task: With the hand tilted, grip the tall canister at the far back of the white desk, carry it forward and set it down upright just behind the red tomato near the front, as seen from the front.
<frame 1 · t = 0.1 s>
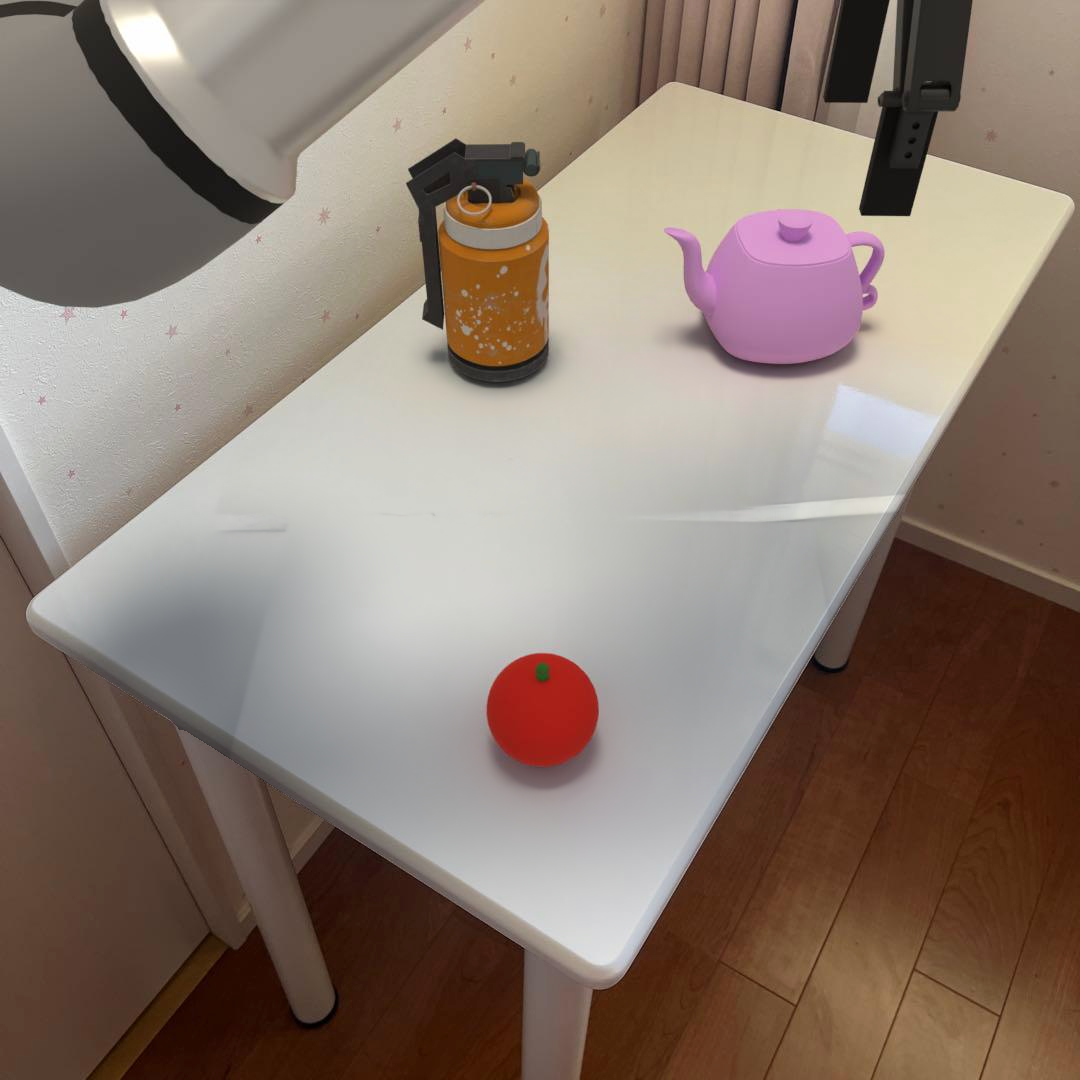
hand: (863, 153, 66), 28 cm above the table, tool pointing down, fingers open, 13 cm apart
teapot: (762, 334, 101), on the table
canister: (486, 357, 99), on the table
tomato: (542, 740, 71), on the table
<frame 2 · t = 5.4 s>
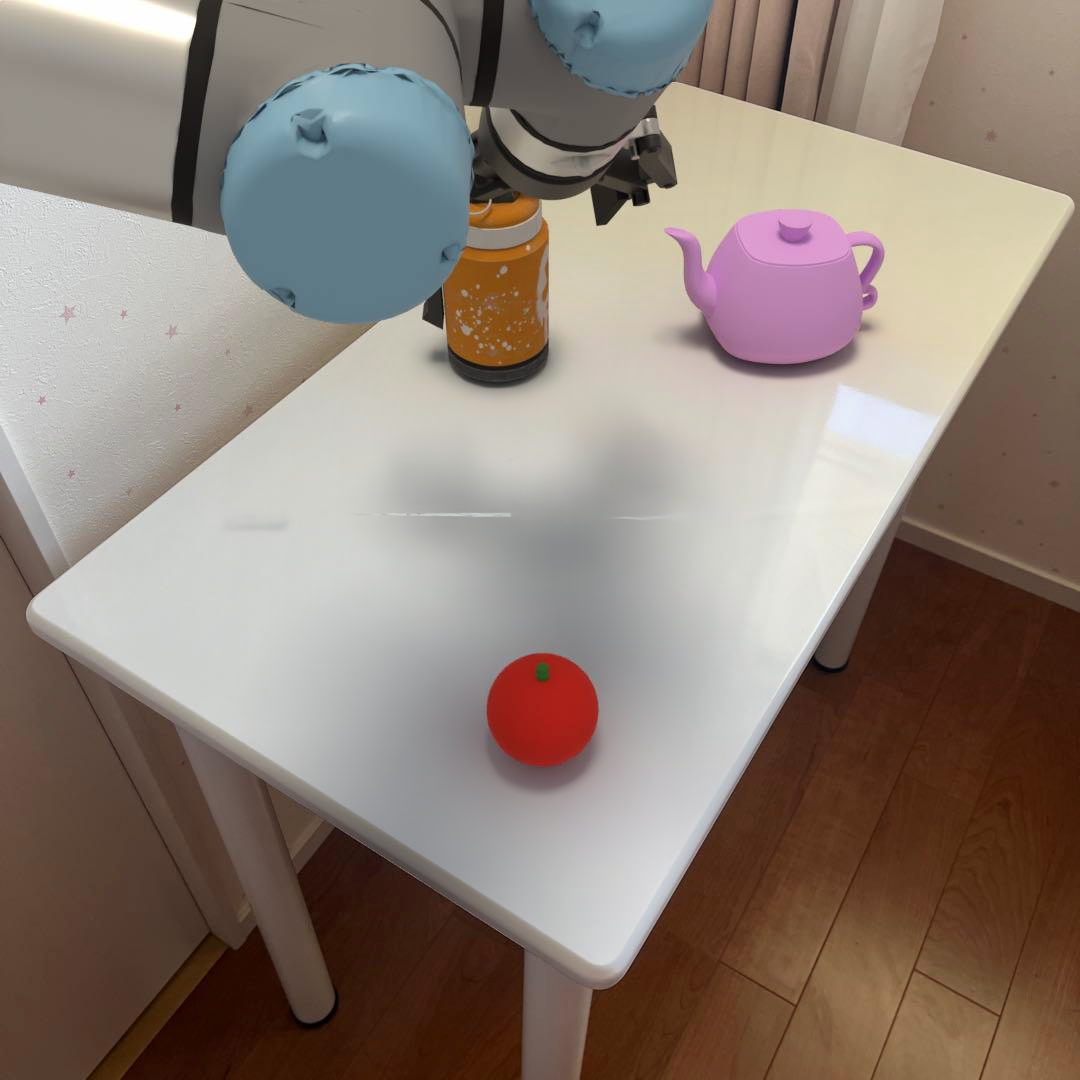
hand: (504, 219, 77), 20 cm above the table, tool tilted 45°, fingers open, 13 cm apart
nothing on the table moved.
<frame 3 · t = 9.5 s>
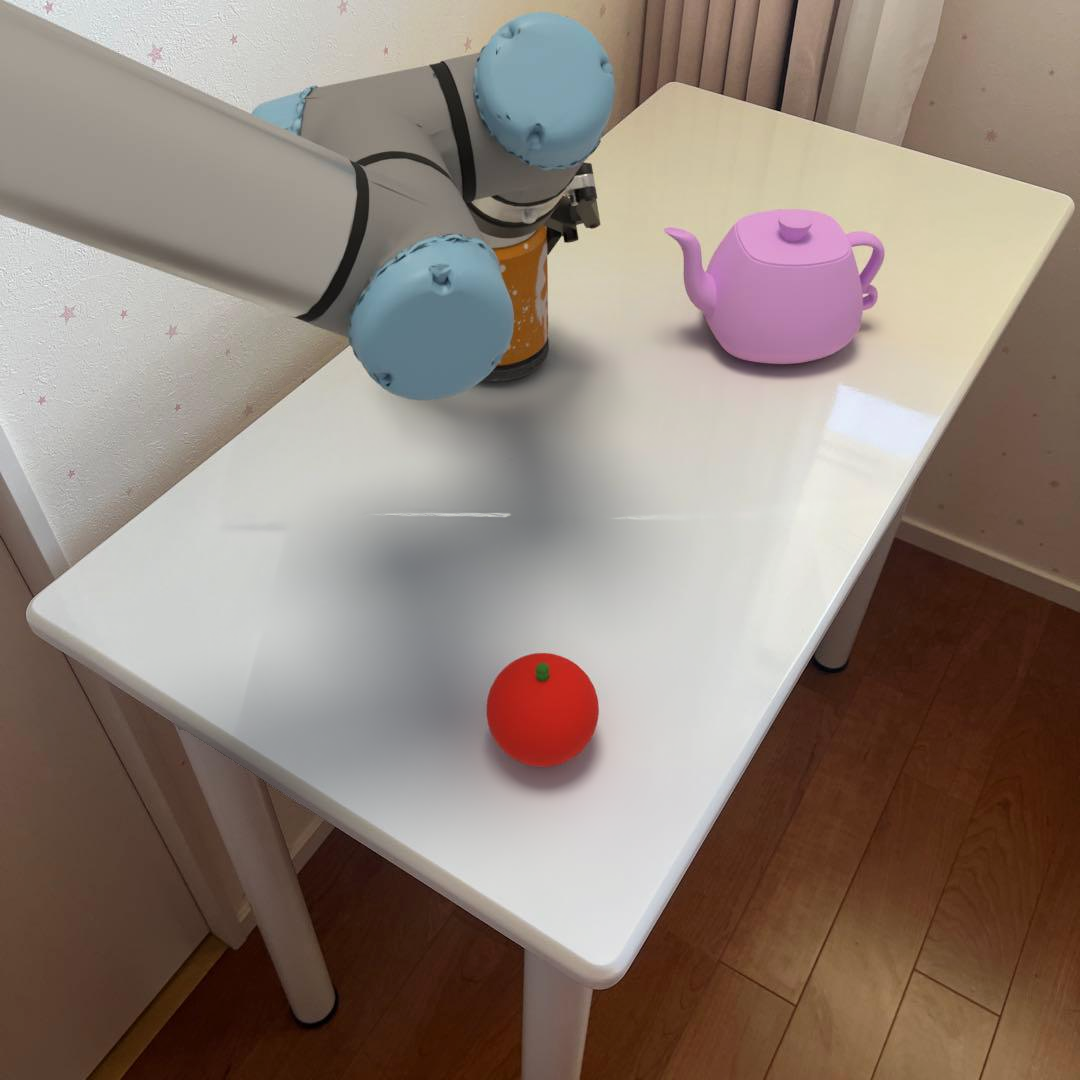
hand: (477, 248, 94), 9 cm above the table, tool tilted 45°, fingers closed on canister, 10 cm apart
canister: (487, 357, 99), on the table, touching gripper
everything else where it was.
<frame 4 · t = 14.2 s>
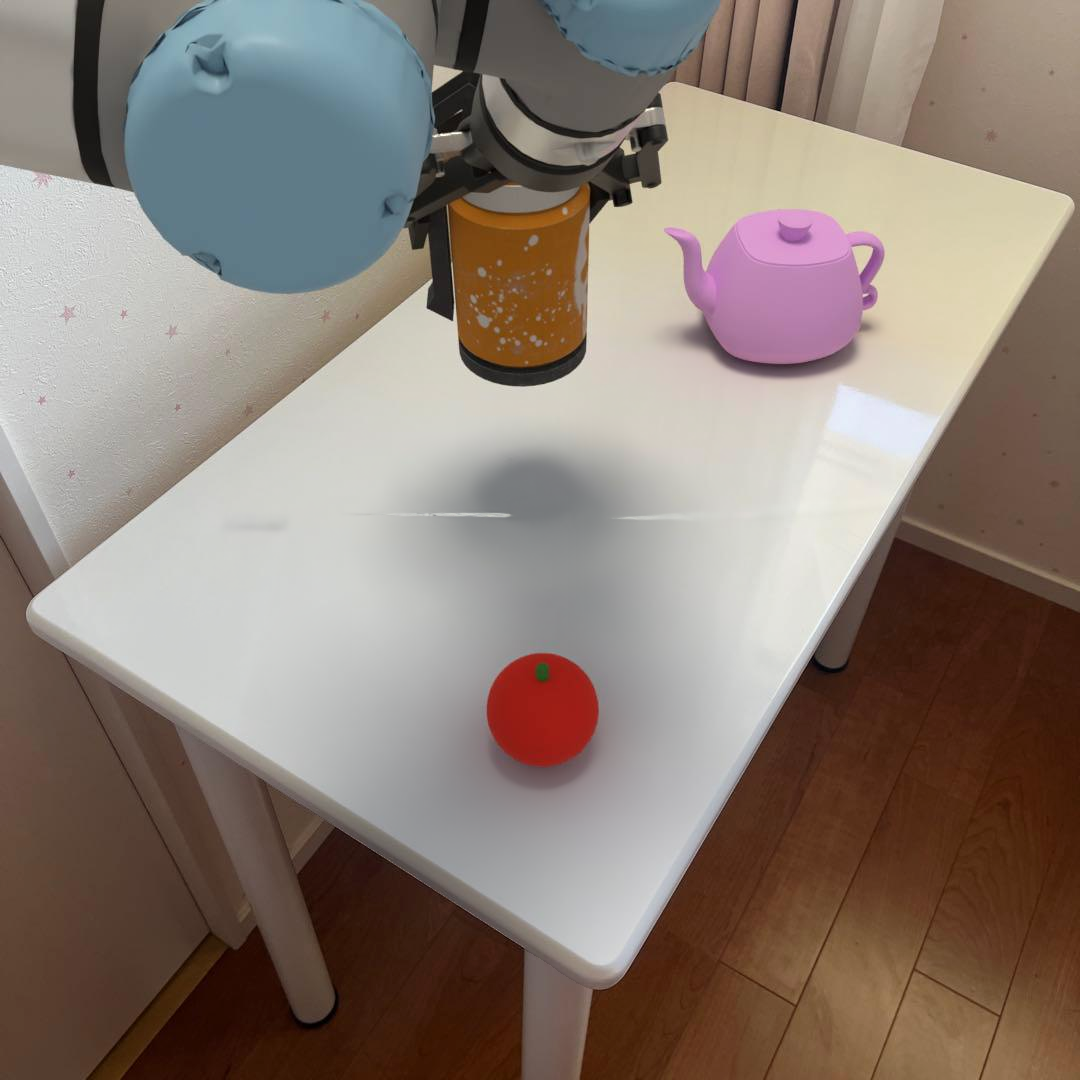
hand: (497, 217, 73), 22 cm above the table, tool tilted 45°, fingers closed on canister, 10 cm apart
canister: (508, 357, 78), point 13 cm above the table, touching gripper
everything else where it was.
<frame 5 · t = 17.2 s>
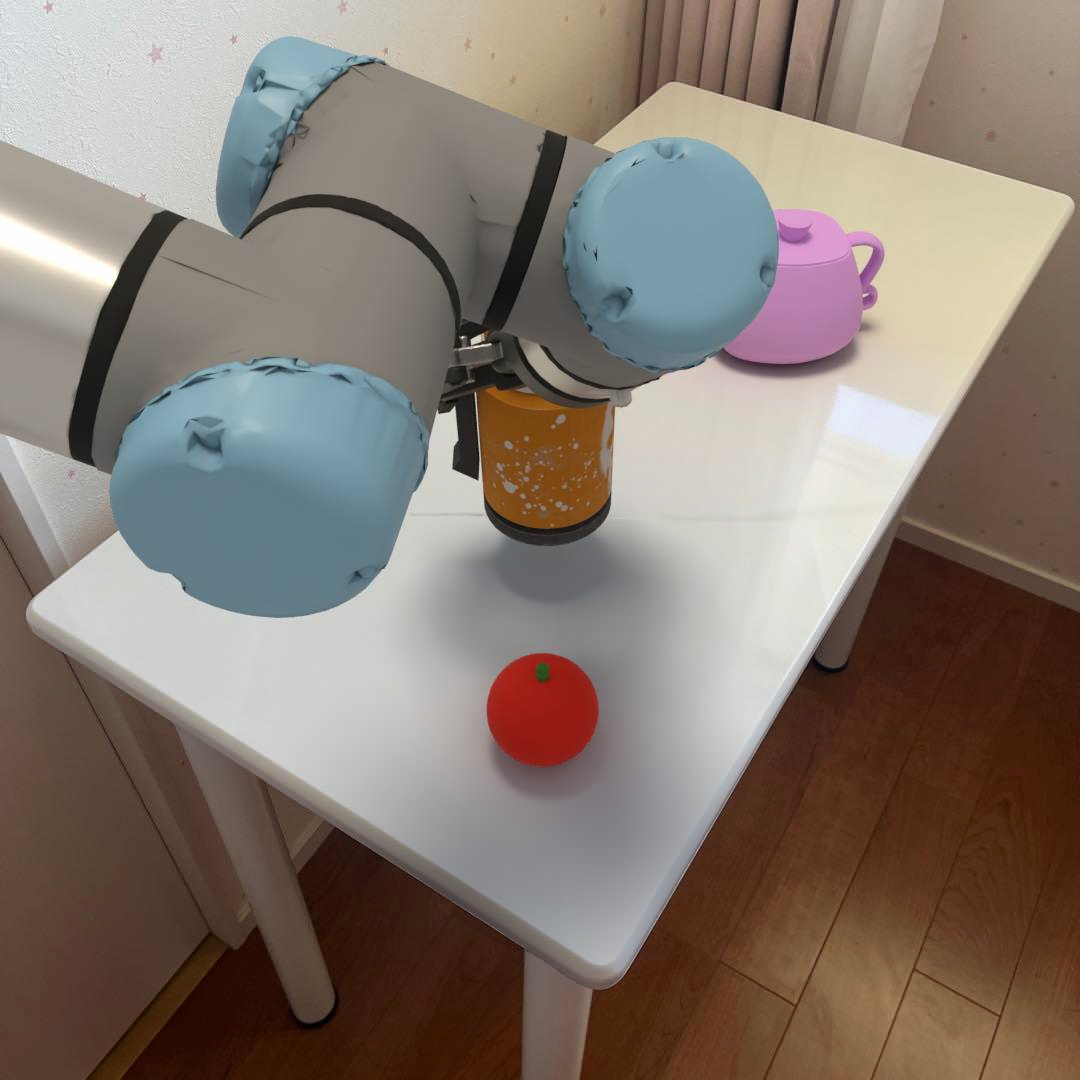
hand: (523, 380, 74), 14 cm above the table, tool tilted 45°, fingers closed on canister, 10 cm apart
canister: (532, 509, 78), point 5 cm above the table, touching gripper
everything else where it was.
when the fingers open (9 cm above the table, at t = 19.3 s): canister stays where it is, on the table.
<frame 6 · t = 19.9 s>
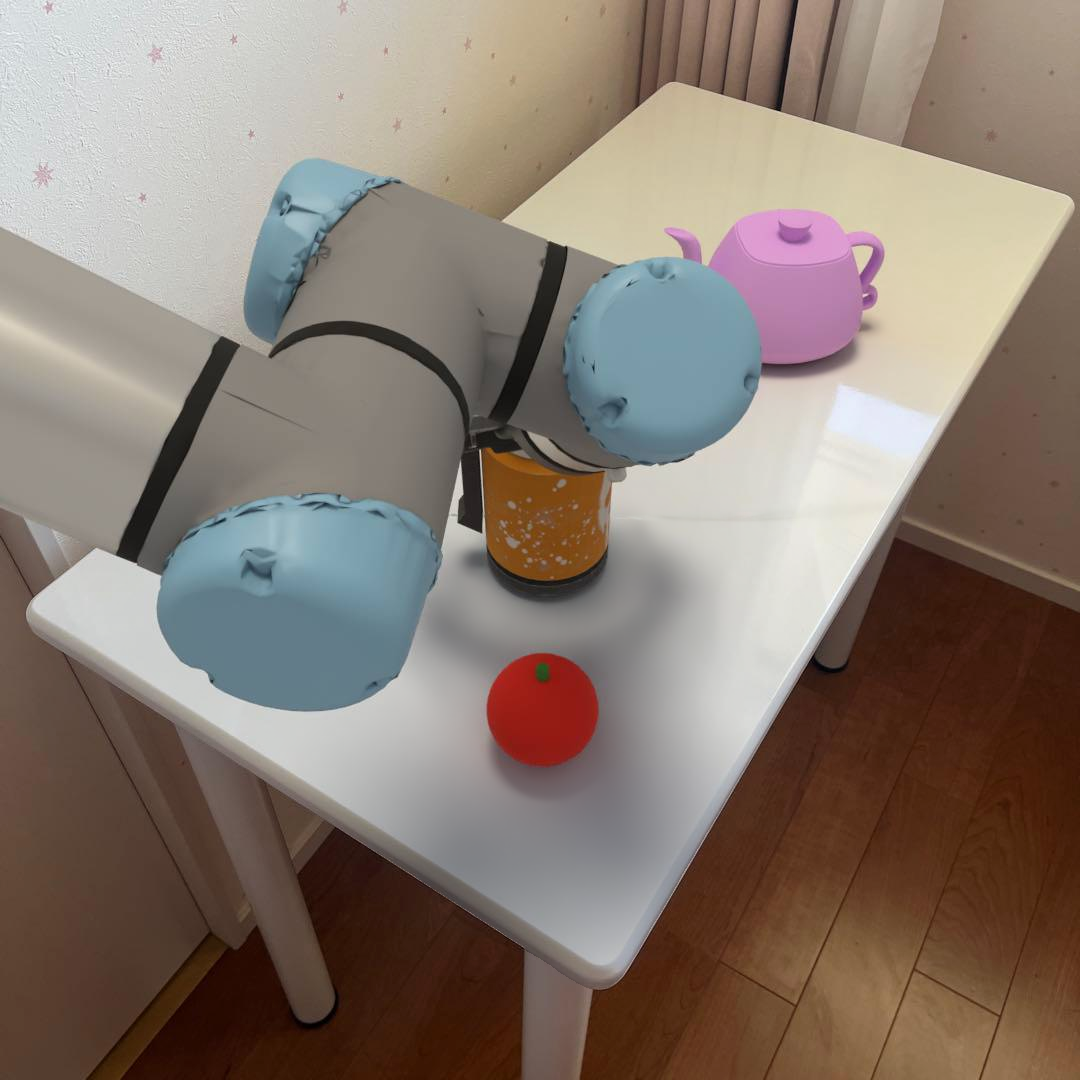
hand: (525, 430, 76), 10 cm above the table, tool tilted 45°, fingers open, 13 cm apart
canister: (533, 558, 82), on the table
everything else where it was.
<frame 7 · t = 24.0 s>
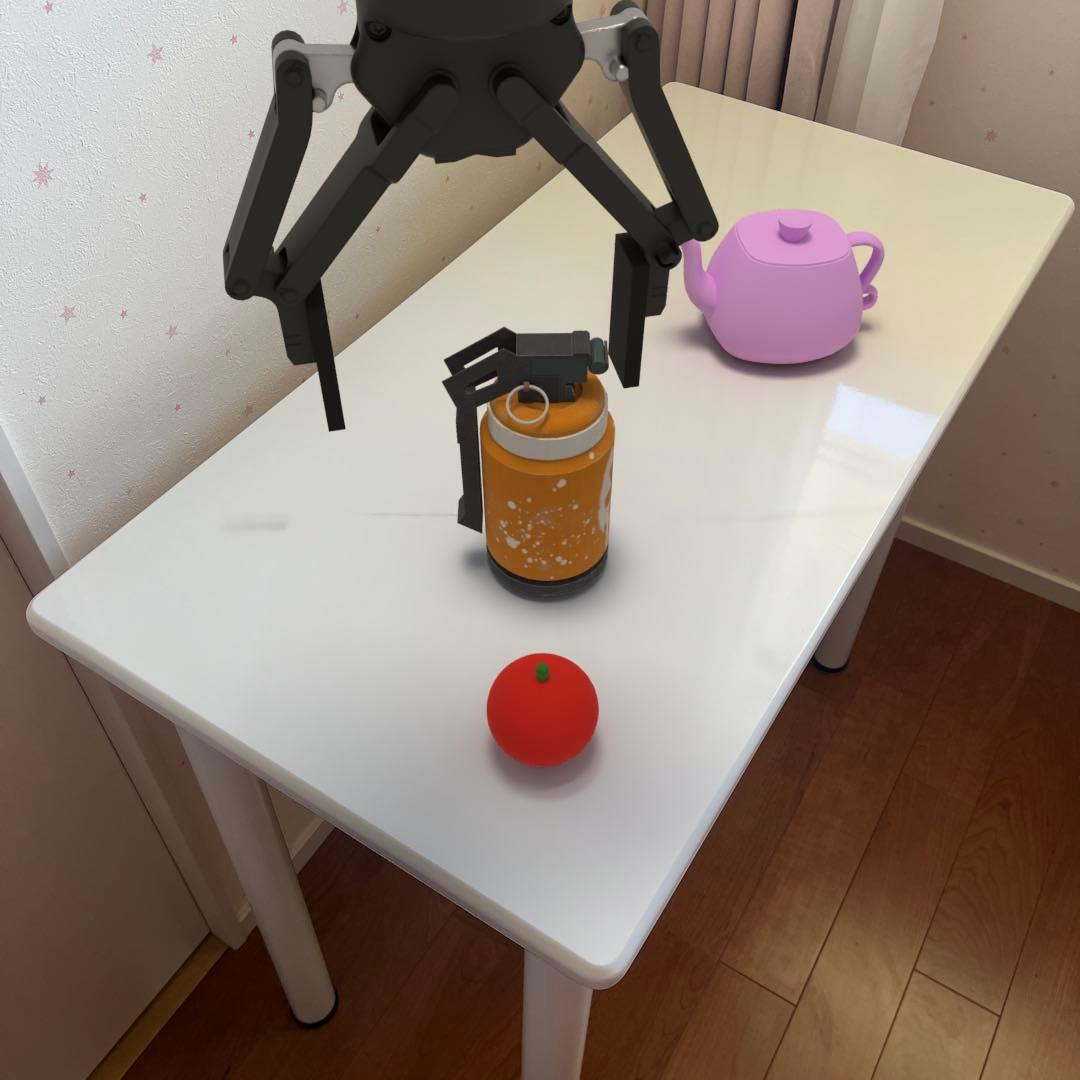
hand: (481, 390, 51), 28 cm above the table, tool pointing down, fingers open, 13 cm apart
nothing on the table moved.
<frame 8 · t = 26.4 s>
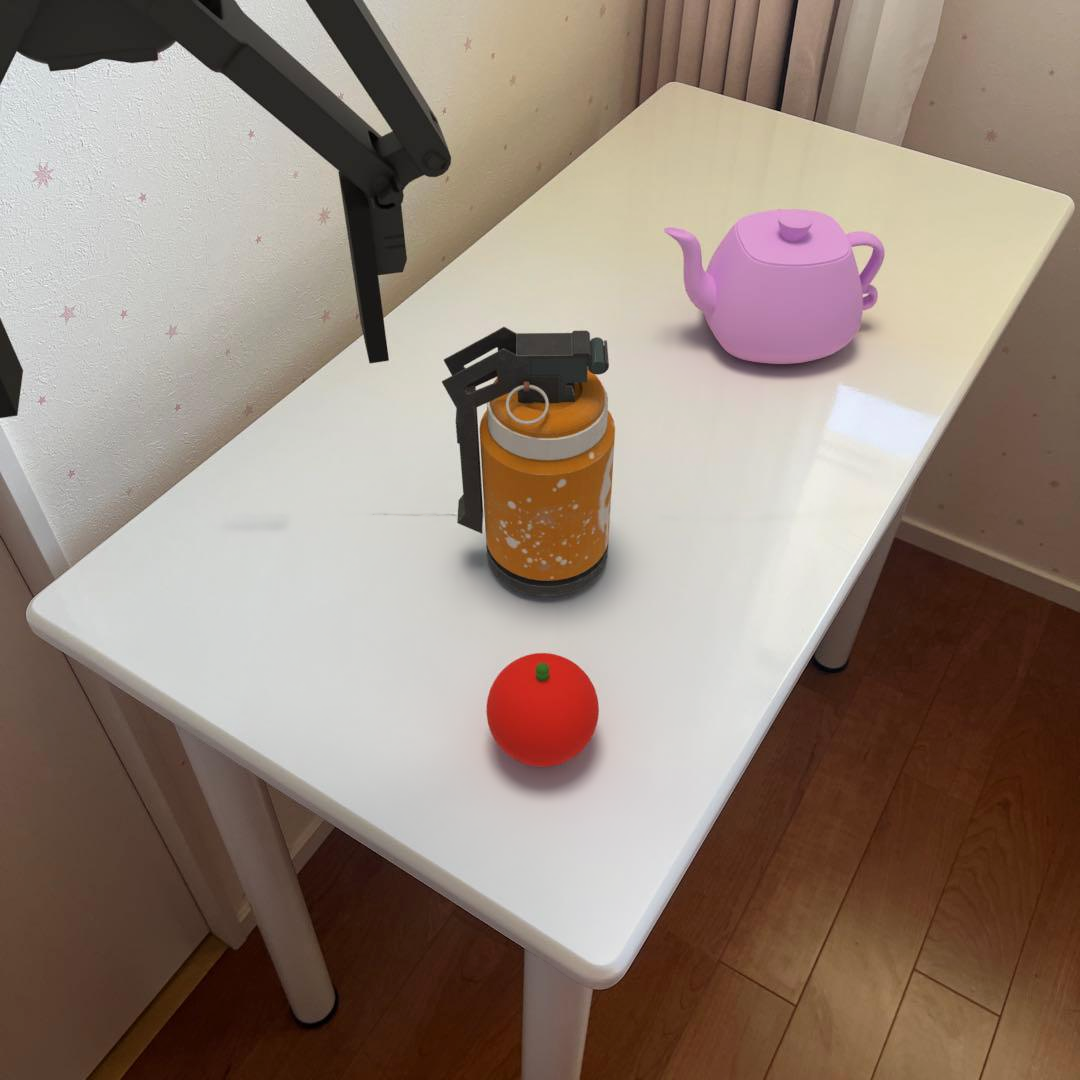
hand: (197, 368, 42), 35 cm above the table, tool pointing down, fingers open, 13 cm apart
nothing on the table moved.
at the end: canister inside the target area on the table beside the tomato (2.3 cm from its centre), on the table; canister tilted 0°; tomato moved 0.0 cm from its start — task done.
